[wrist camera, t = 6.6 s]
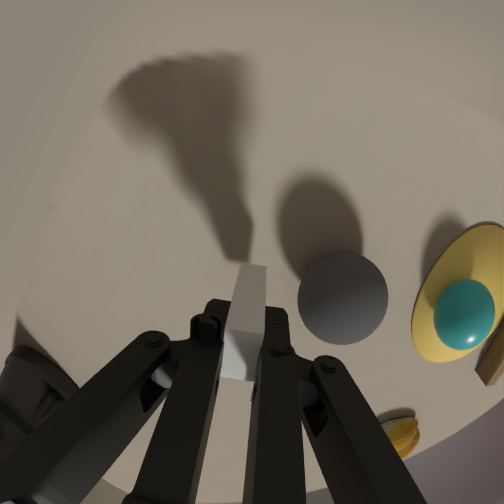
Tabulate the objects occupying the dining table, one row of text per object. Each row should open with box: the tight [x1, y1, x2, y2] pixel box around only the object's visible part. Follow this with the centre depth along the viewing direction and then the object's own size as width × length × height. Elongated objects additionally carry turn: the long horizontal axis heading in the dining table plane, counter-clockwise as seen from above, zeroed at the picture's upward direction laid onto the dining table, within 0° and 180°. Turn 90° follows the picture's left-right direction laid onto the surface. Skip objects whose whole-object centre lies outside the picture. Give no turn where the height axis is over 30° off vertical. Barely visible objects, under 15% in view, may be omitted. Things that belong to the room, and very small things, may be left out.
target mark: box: [411, 225, 504, 362], centre depth 18 cm, size 14×14×1 cm
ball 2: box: [433, 279, 495, 350], centre depth 16 cm, size 6×6×6 cm
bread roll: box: [381, 417, 420, 459], centre depth 24 cm, size 8×9×4 cm
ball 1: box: [298, 252, 388, 345], centre depth 16 cm, size 6×6×6 cm
